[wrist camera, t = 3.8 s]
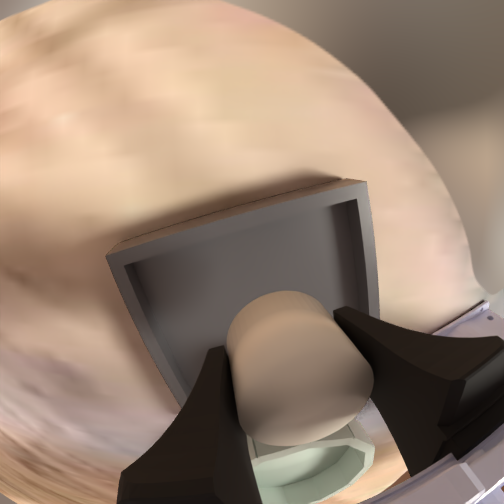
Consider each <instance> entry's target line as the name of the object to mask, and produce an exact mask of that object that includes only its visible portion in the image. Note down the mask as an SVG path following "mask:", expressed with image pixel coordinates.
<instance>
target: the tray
mask: <svg viewBox="0 0 504 504" xmlns="http://www.w3.org/2000/svg"><path fill="white" fill-rule="evenodd" d="M106 259H107V261H108V264H109V266H110V269H111V271H112V274H113V276H114V279H115V281H116V283H117V286H118V288H119V290H120V293H121V295H122V297H123V299H124V302H125V304H126V306H127V308H128V310H129V313H130V315H131V317H132V319H133V321H134V323H135V325H136V327H137V329H138V331H139V333H140V335H141V337H142V339H143V341H144V343H145V345H146V347H147V349H148V351H149V353H150V355H151V357H152V358H153V360H154V362H155V364H156V366H157V368H158V369H159V371H160V373H161V375H162V376H163V378H164V380H165V382H166V383H167V385H168V387H169V388H170V390H171V392H172V394H173V395H174V397H175V398H176V400H177V402H178V403H179V405H180V407H181V408H182V407H183V406H184V404H185V402H186V400H187V398H188V396H189V395H190V393H191V391H192V389H193V387H194V385H195V382H196V380H197V378H198V375H199V373H200V371H201V368H202V365H203V363H204V360H205V357H206V354H207V351H208V350H209V349H210V348H214V347H218V346H221V345H224V347H225V350H226V352H227V355H228V351H227V334H228V330H229V328H230V325H231V323H232V321H233V319H234V318H235V317H236V315H237V314H238V313H239V312H240V311H241V310H242V309H243V308H244V307H245V306H246V305H247V304H249V303H250V302H252V301H253V300H255V299H257V298H259V297H261V296H263V295H266V294H269V293H273V292H278V291H297V292H302V293H305V294H307V295H310V296H312V297H313V298H315V299H316V300H318V301H319V302H320V303H321V304H322V305H323V306H324V308H325V309H326V310H327V311H328V313H329V314H330V315H331V316H332V318H333V319H334V317H333V310H335V309H338V308H341V307H343V306H349V307H351V308H353V309H356V310H358V311H360V312H363V313H365V314H367V315H370V316H372V317H374V318H377V319H379V320H380V309H379V288H378V272H377V260H376V249H375V239H374V230H373V222H372V214H371V207H370V200H369V194H368V187H367V181H361V180H354V179H348V178H346V179H342V180H337V181H333V182H329V183H325V184H321V185H316V186H312V187H308V188H304V189H300V190H296V191H292V192H289V193H285V194H281V195H277V196H273V197H269V198H266V199H262V200H258V201H255V202H251V203H247V204H244V205H240V206H237V207H233V208H230V209H226V210H223V211H219V212H216V213H212V214H209V215H205V216H202V217H199V218H195V219H192V220H189V221H185V222H182V223H179V224H176V225H172V226H169V227H166V228H163V229H160V230H157V231H154V232H150V233H147V234H144V235H141V236H138V237H135V238H132V239H129V240H126V241H123V242H120V243H118V244H117V245H116V246H115V247H114V248H113V249H112V250H111V251H110V252H109V253H108V254H107V255H106Z"/></svg>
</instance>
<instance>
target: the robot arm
mask: <svg viewBox="0 0 504 504" xmlns="http://www.w3.org/2000/svg"><path fill="white" fill-rule="evenodd" d="M488 308H489V302H488V301H485V302H483V303H482V304H480V305H479V306H477V307H476V308H474V309H473V310H471V311H470V312H468V313H466V314H465V315H463V316H462V317H460V318H458V319H457V320H455V321H453V322H452V323H450V324H448V325H447V326H445V327H443V328H442V329H440V330H438V331H436V332H435V333H433V334H432V335H431V334H426V333H421V332H417V331H412V330H409V329H405V328H402V327H399V326H396V325H393V324H390V323H387V322H384V321H382V320H379V319H377V318H374V317H372V316H370V315H367V314H365V313H363V312H360V311H358V310H356V309H353V308H351V307H349V306H343V307H341V308H338V309H335V310H333V317H334V320H335V321H336V323H337V324H338V325H339V326H340V328H341V329H342V330H343V331H344V333H345V334H346V335H347V336H348V338H349V339H350V340H351V341H352V343H353V344H354V345H355V347H356V348H357V349H358V350H359V352H360V353H361V354H362V355H363V357H364V358H365V359H366V360H367V362H368V363H369V364H370V366H371V368H372V371H373V375H374V383H373V389H372V392H371V395H370V398H371V399H372V401H373V402H374V404H375V405H376V407H377V408H378V410H379V412H380V414H381V416H382V417H383V419H384V421H385V423H386V425H387V426H388V428H389V430H390V432H391V434H392V436H393V438H394V440H395V442H396V444H397V446H398V449H399V451H400V453H401V455H402V457H403V459H404V462H405V464H406V466H407V469H408V471H409V474H410V476H411V478H410V479H408V480H406V481H404V482H402V483H400V484H398V485H396V486H395V487H393V488H391V489H389V490H387V491H384V492H383V493H380V494H378V495H376V496H374V497H372V498H369V499H367V500H365V501H362V502H360V503H358V504H504V493H503V491H502V490H501V487H502V486H503V485H504V319H503V318H502V317H500V316H499V315H497V314H496V313H494V312H493V311H491V310H489V309H488ZM117 504H263V503H262V499H261V496H260V493H259V489H258V486H257V482H256V478H255V474H254V471H253V467H252V463H251V459H250V455H249V449H248V443H247V435H246V433H245V432H244V430H243V429H242V427H241V425H240V423H239V419H238V413H237V407H236V401H235V395H234V389H233V383H232V377H231V370H230V364H229V357H228V355H227V352H226V350H225V347H224V345H221V346H218V347H214V348H210V349H209V350H208V351H207V354H206V357H205V360H204V363H203V365H202V368H201V371H200V373H199V375H198V378H197V380H196V382H195V385H194V387H193V389H192V391H191V393H190V395H189V396H188V398H187V400H186V402H185V404H184V406H183V407H182V409H181V411H180V412H179V414H178V415H177V417H176V418H175V420H174V421H173V422H172V424H171V425H170V426H169V428H168V429H167V430H166V431H165V432H164V434H163V435H162V436H161V437H160V438H159V439H158V441H157V442H156V443H155V444H154V445H153V446H152V447H151V448H150V449H149V450H148V451H147V452H145V453H144V454H143V455H142V456H141V457H140V458H139V459H137V460H136V461H135V462H134V463H132V464H131V465H130V466H129V467H127V468H126V469H125V470H123V471H122V472H121V476H120V480H119V487H118V495H117Z"/></svg>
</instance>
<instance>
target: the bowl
mask: <svg viewBox="0 0 504 504" xmlns="http://www.w3.org/2000/svg"><path fill="white" fill-rule="evenodd" d="M246 435H247V434H246ZM247 443H248V449H249V455H250V459H251V463H252V467H253V471H254V474H255V478H256V482H257V486H258V489H259V493H260V496H261V499H262V503H263V504H316V503H319V502H322V501H324V500H326V499H328V498H330V497H332V496H334V495H336V494H337V493H339V492H341V491H343V490H344V489H346V488H348V487H349V486H351V485H353V484H354V483H355V482H356V481H357V480H358V479H359V478H360V477H361V476H362V475H363V474H364V473H365V472H366V471H367V470H368V469H369V468H370V467H371V466H372V464H373V458H374V451H375V446H374V444H373V443H372V441H371V439H370V438H369V436H368V434H367V433H366V431H365V429H364V428H363V426H362V424H361V423H360V422H359V421H357V420H356V419H355V417H354V418H353V419H352V420H351V421H350V422H349V423H348V424H346V425H345V426H344V427H342V428H341V429H339V430H338V431H336V432H334V433H332V434H331V435H328V436H326V437H324V438H322V439H319V440H317V441H313V442H310V443H306V444H302V445H296V446H273V445H268V444H264V443H261V442H258V441H256V440H254V439H253V438H251V437H250V436H248V435H247Z"/></svg>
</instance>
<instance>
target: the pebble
mask: <svg viewBox="0 0 504 504" xmlns="http://www.w3.org/2000/svg"><path fill="white" fill-rule="evenodd" d="M227 351H228V357H229V364H230V370H231V377H232V383H233V389H234V395H235V401H236V407H237V413H238V419H239V423H240V425H241V427H242V429H243V430H244V432H245V433H246V434H247V435H248V436H250V437H251V438H253V439H254V440H256V441H258V442H261V443H264V444H268V445H273V446H296V445H302V444H306V443H310V442H313V441H317V440H319V439H322V438H324V437H326V436H328V435H331V434H332V433H334V432H336V431H338V430H339V429H341V428H342V427H344V426H345V425H346V424H348V423H349V422H350V421H351V420H352V419H353V418H354V417H355V416H356V415H357V414H358V413H359V412H360V411H361V410H362V408H363V407H364V406H365V404H366V403H367V401H368V399H369V397H370V395H371V392H372V389H373V383H374V375H373V371H372V368H371V366H370V364H369V363H368V362H367V360H366V359H365V358H364V357H363V355H362V354H361V353H360V352H359V350H358V349H357V348H356V347H355V345H354V344H353V343H352V341H351V340H350V339H349V338H348V336H347V335H346V334H345V333H344V331H343V330H342V329H341V328H340V326H339V325H338V324H337V323H336V321H335V320H334V319H333V318H332V316H331V315H330V314H329V313H328V311H327V310H326V309H325V308H324V306H323V305H322V304H321V303H320V302H319V301H318V300H316V299H315V298H313V297H312V296H310V295H307V294H305V293H302V292H297V291H278V292H273V293H269V294H266V295H263V296H261V297H259V298H257V299H255V300H253V301H252V302H250V303H249V304H247V305H246V306H245V307H244V308H243V309H242V310H241V311H240V312H239V313H238V314H237V315H236V317H235V318H234V319H233V321H232V323H231V325H230V328H229V330H228V334H227Z"/></svg>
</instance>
